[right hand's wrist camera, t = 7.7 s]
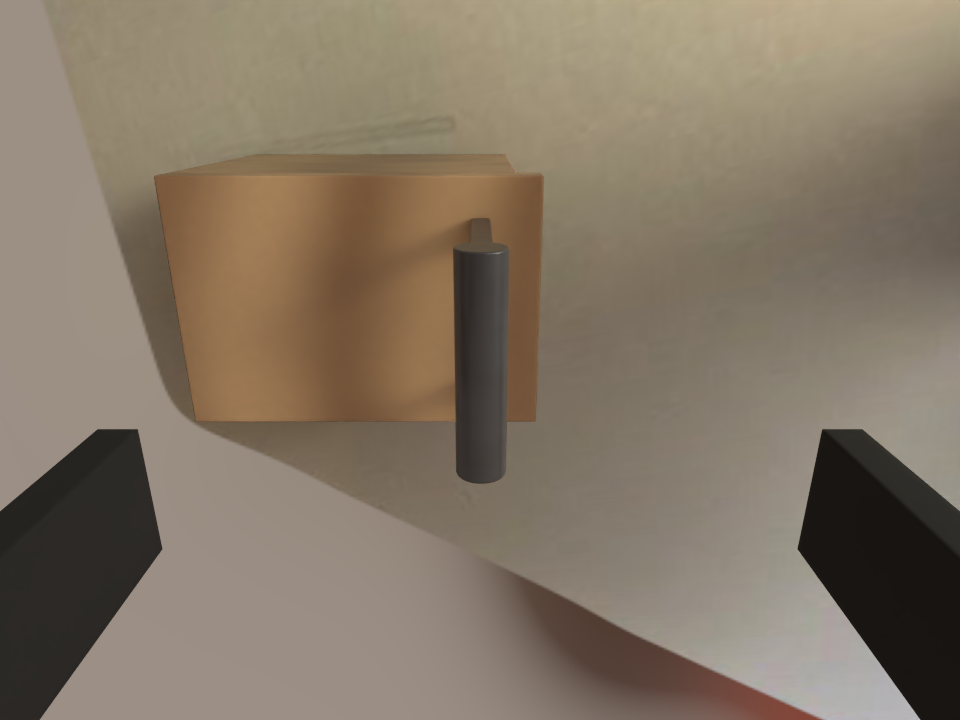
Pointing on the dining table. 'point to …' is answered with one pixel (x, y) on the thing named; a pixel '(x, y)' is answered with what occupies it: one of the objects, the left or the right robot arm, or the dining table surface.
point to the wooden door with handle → (360, 299)
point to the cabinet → (359, 164)
